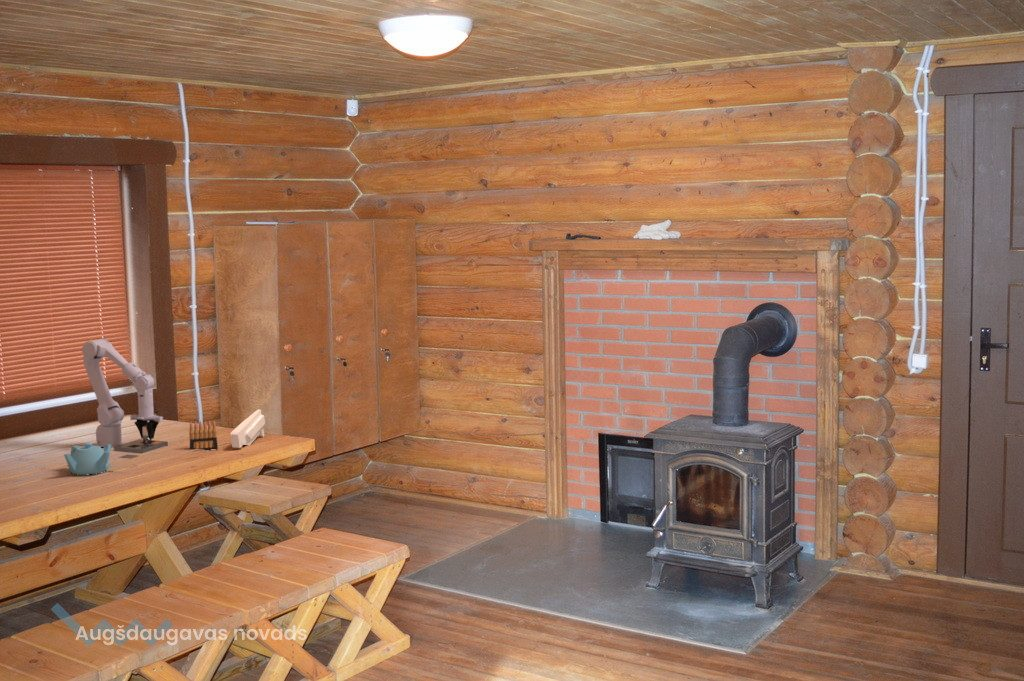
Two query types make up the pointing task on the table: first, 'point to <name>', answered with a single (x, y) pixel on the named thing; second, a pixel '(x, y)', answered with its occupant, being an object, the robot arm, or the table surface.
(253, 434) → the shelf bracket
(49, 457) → the table surface
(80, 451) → the teapot
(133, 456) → the tab
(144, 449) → the plate
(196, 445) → the ammunition clip
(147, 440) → the steel peg
